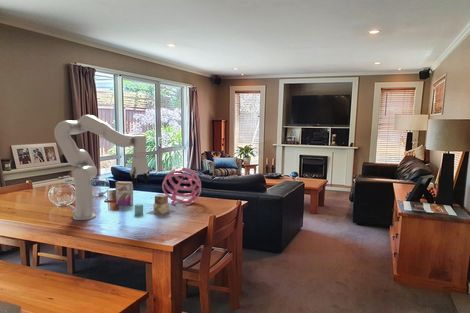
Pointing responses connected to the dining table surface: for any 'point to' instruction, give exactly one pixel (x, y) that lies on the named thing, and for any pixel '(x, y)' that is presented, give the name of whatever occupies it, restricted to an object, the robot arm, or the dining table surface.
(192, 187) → the pink openwork sphere
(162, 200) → the tower top
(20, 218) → the dining table surface
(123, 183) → the candy bar box
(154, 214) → the felt mat
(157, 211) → the tower base
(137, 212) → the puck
